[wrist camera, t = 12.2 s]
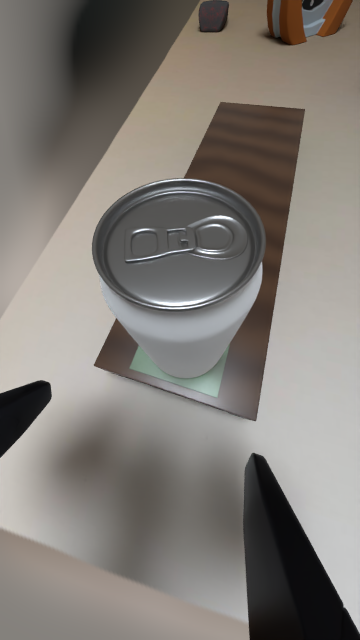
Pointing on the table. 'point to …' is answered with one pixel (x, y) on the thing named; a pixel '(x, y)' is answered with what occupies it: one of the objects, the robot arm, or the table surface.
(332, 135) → the table surface
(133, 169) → the table surface
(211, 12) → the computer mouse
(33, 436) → the table surface
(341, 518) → the table surface
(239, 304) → the can
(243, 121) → the shelf
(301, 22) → the alarm clock
